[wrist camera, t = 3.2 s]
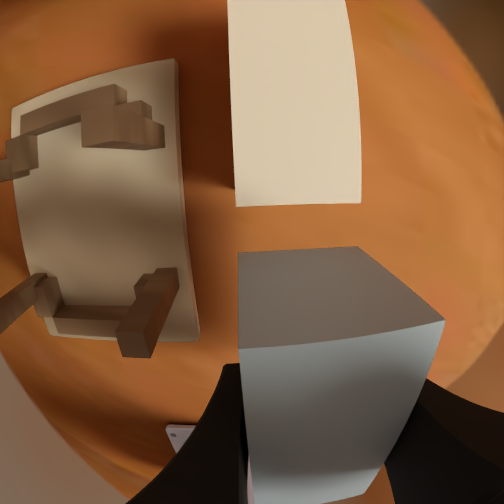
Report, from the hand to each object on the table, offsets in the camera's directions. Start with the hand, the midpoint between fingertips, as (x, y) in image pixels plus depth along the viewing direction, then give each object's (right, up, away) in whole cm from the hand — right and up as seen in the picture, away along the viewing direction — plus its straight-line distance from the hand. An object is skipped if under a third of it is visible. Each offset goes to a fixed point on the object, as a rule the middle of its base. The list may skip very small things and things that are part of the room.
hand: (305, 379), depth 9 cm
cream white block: (-1, +11, +3) cm, 12 cm away
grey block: (0, +1, +1) cm, 2 cm away
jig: (-10, +6, +4) cm, 12 cm away
